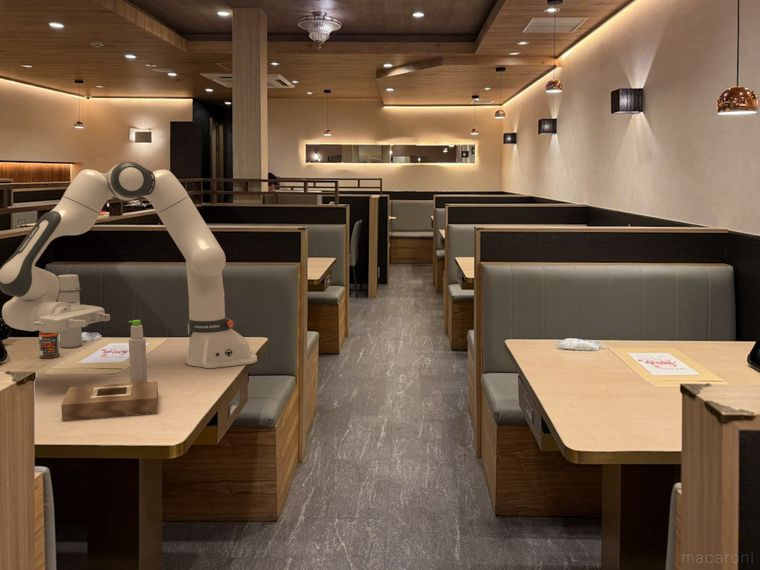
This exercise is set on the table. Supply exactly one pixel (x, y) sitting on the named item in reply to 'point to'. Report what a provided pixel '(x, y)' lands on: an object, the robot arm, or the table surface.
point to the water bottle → (68, 294)
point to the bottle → (137, 353)
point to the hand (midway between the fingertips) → (97, 320)
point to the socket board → (110, 400)
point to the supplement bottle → (49, 345)
